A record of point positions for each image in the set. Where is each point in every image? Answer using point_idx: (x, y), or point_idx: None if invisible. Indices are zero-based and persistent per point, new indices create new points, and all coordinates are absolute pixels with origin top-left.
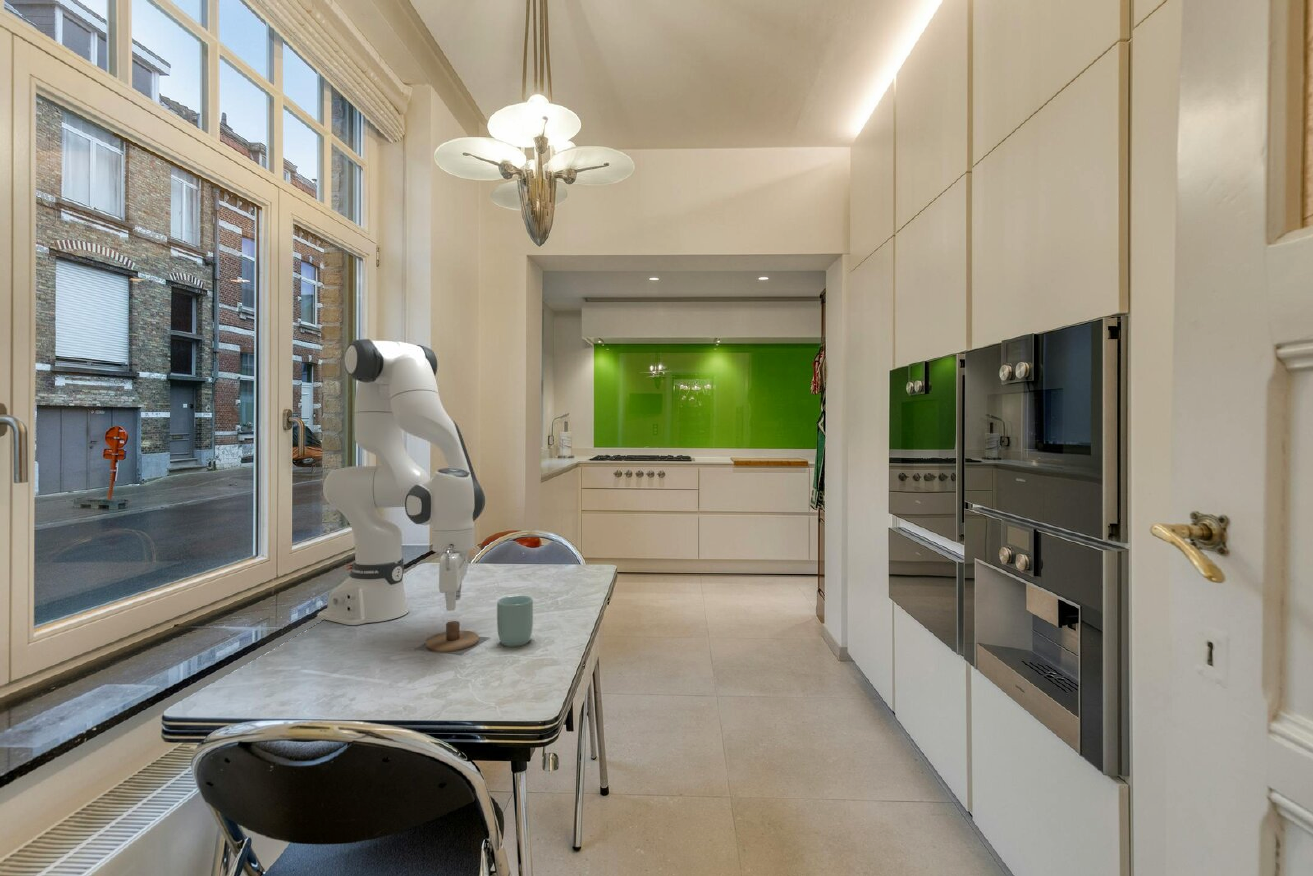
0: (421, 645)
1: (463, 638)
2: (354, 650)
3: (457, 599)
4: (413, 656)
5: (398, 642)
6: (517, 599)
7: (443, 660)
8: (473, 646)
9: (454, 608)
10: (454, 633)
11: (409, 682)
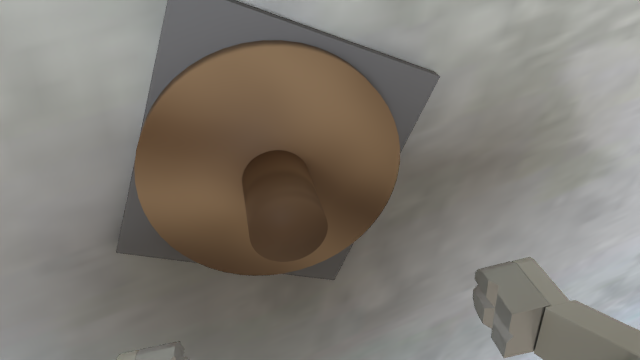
0: (293, 272)
1: (274, 130)
2: None
3: (182, 351)
4: (376, 253)
5: (221, 354)
6: None
7: (444, 136)
8: (332, 48)
9: (534, 264)
10: (311, 183)
11: (609, 171)
